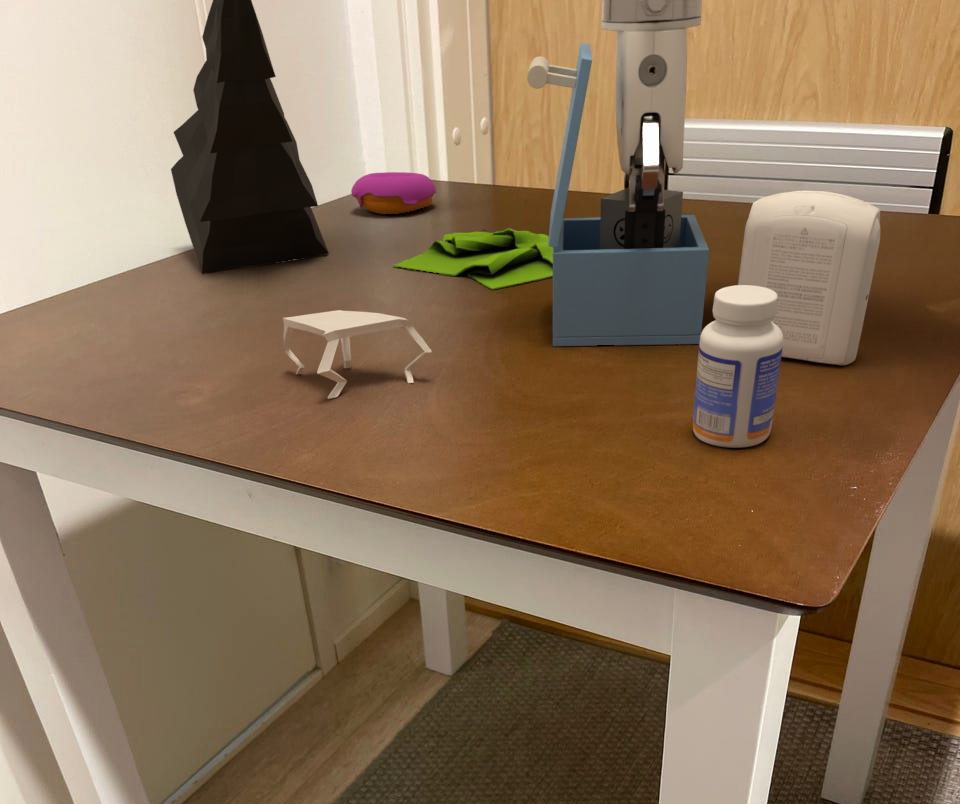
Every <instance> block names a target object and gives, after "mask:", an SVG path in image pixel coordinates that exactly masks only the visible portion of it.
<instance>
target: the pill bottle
mask: <svg viewBox="0 0 960 804" xmlns="http://www.w3.org/2000/svg"><path fill="white" fill-rule="evenodd" d="M777 300H778V295H777V293H776V292H775V291H773V290H771V289H768V288H765V287H760V286H752V285H738V284H737V285H730V286H729V285H728V286H725V287H721V288H720V289H718V290H717V291H716V292H715V293H714V297H713V304H712V316H713V318H714V319H715V320H713V321H711V322H710V323H708V324H707V325H706V326H704V328H702V332H701V336H700V344H698V357H697V365H696V367H697V368H696V378H695V379H696V381H695V392H694V405H693V415H692V431H693V433H694V435H695V437H696V438H697V439H698V440H700V441H702V442H704V443H705V444H708V445H710V446H711V445H712V446H714V447H715V446H716V447H722V448H731V449H733V448H734V449H735V448H736V449H738V448H739V449H740V448H751V447H754V446H757V445H759V444H762V443H763V442H765V440H767V439H768V438H769V436H770V434H771V432H772V426H773V420H774V413H775V407H776V398H777V390H778V383H779V377H780V368H781V361H782V357H781V355H782V348H783V334H782V331H781V330H780V328H779V327H778V326H777V325H776V324H774V323H772V322H771V320H773V319H774V318H775V315H776V312H777Z"/></svg>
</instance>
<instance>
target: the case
mask: <svg viewBox="0 0 960 804" xmlns="http://www.w3.org/2000/svg"><path fill="white" fill-rule="evenodd" d="M600 217H601V216H599V217H598V216H597V217H567V218H566V217H565V218H564V217H563V222H562V227H561V233H560V238H559V243H558V247H557V248H555V247H553V277H552V347H597V345H614V346H659V345H660V346H665V345H666V346H667V345H669V346H670V345H671V346H672V345H676V344H677V345H699V344H700V336H701V333H702V331H703V321H704V311H705V310H704V308H705V299H706V289H707V288H706V287H707V278H708V266H709V258H710V257H709V256H710V255H709V254H710V249H709V246H708V244H707V241H706V238H705V237H704V234H703V232H702V229H701V227H700V225H699V222H698V220H697V217H696V215H695V214H681V227H680V241H679V248H644V249H604V250H600Z"/></svg>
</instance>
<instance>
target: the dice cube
mask: <svg viewBox="0 0 960 804" xmlns="http://www.w3.org/2000/svg"><path fill="white" fill-rule="evenodd" d="M636 194H637V193H636ZM683 198H684V191H681V190H680V191H679V190H671V189H664V208H663V209H665V226H664V243H663V248H679V241H680V227H681V215H682V213H683V211H682V210H683V200H684V199H683ZM625 211H629V188H626V189H624V188H623V189H621V190H619V191H615V192H613V193H611V194H608V195H606V196H603V197H601V198H600V216H599V217H600V250H604V249H624V230H625Z"/></svg>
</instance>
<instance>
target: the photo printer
mask: <svg viewBox="0 0 960 804" xmlns="http://www.w3.org/2000/svg"><path fill="white" fill-rule="evenodd" d="M880 221H881V209H880V208H879V207H876V206H875V205H873V204H871V203H869V202H866V201H865V200H861V199H859V198H856V197H853V196H850V195H847V194H842V193H837V192H831V191H824V190H793V191H785V192H780V193H774V194H771V195H767V196H764V197H760V198H758V199H757V200H756V201H754V202H753V203H752V205H751V208H750V211H749V215H748V218H747V221H746V223H745V227H744V233H743V243H742V250H741V259H740V266H739V274H738V281H737V285H752V286H760V287H765V288H768V289H771V290H773V291H775V292H776V293H777V295H778V300H777V312H776V315H775V318H774V319H773V320H771V322H772V323H774V324H776V325H777V326H778V327H779V328H780V330H781V331H782V334H783V348H782V355H781V358H789V359H794V360H800V361H808V362H814V363H820V364H829V365H837V366H843V367H844V366H847V365H850V364H852V363H854V361H856V359H857V355H858V350H859V346H860V345H859V344H860V341H861V336H862V332H863V327H864V321H865V316H866V312H867V306H868V301H869V296H870V292H871V288H872V282H873V277H874V273H875V267H876V262H877V257H878V252H879V248H880V242H881V231H882V230H881V224H880V223H881V222H880Z"/></svg>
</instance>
